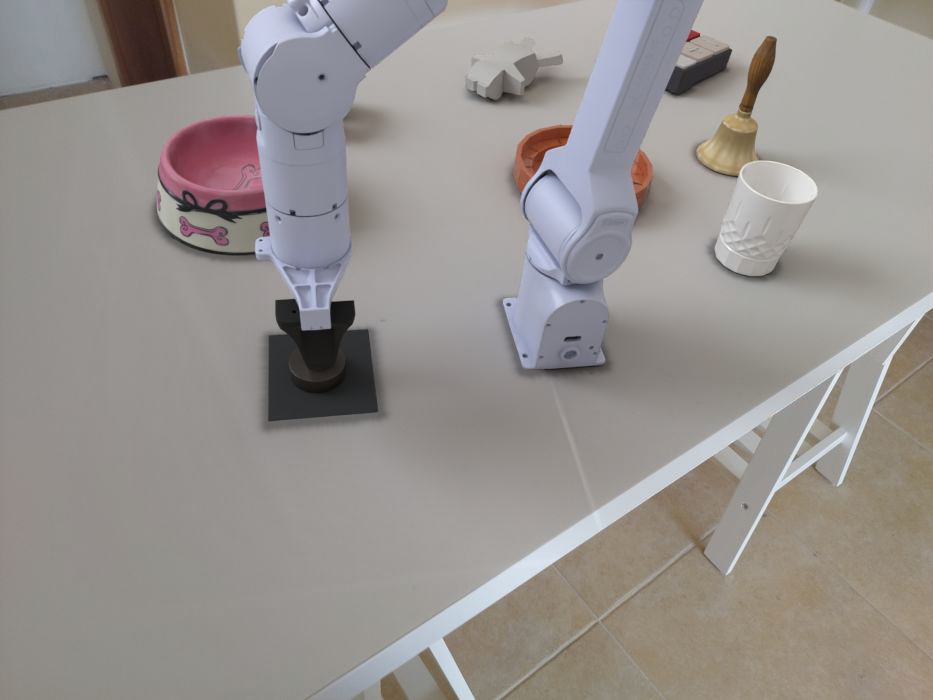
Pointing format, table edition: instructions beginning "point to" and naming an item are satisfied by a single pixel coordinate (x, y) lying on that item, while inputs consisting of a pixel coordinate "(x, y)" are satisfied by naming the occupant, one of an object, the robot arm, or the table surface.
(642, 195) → the terracotta bowl
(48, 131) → the table surface
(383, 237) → the table surface
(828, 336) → the table surface
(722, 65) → the calculator
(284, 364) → the mat
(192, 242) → the dog bowl
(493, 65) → the white lobed flat block
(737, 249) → the white cup
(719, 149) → the hand bell
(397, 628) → the table surface
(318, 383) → the coffee tamper
